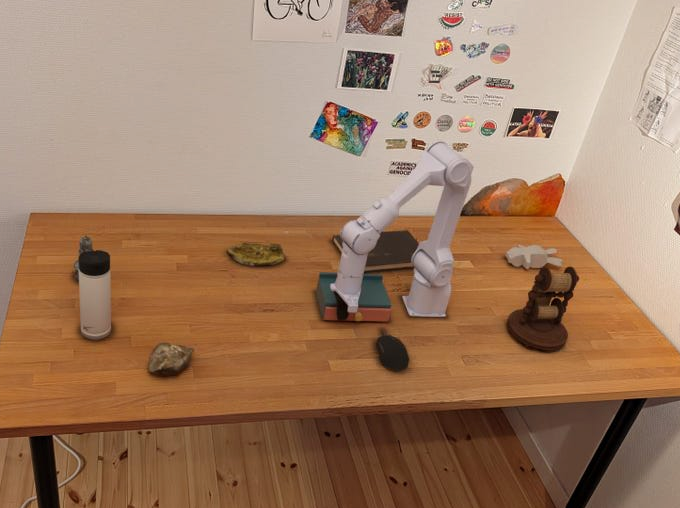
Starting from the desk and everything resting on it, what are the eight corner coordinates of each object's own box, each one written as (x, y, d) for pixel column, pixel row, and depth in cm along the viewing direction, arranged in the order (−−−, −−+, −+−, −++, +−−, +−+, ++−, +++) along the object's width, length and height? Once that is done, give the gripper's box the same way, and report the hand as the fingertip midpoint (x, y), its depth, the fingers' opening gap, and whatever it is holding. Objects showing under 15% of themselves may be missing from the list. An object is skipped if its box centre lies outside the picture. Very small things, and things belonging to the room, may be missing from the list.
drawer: (378, 294, 187) (381, 283, 185) (389, 324, 178) (392, 313, 176) (317, 292, 184) (319, 281, 182) (324, 323, 174) (327, 311, 173)
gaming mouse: (395, 331, 177) (398, 317, 175) (411, 373, 165) (415, 359, 163) (369, 330, 176) (372, 317, 174) (383, 373, 164) (387, 359, 162)
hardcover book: (430, 266, 203) (432, 259, 202) (353, 273, 195) (355, 266, 194) (405, 235, 215) (406, 228, 214) (331, 241, 207) (333, 233, 206)
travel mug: (85, 343, 157) (82, 265, 146) (77, 325, 162) (74, 248, 151) (114, 338, 160) (114, 261, 149) (106, 319, 165) (106, 244, 154)
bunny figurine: (504, 240, 213) (555, 240, 214) (501, 255, 216) (551, 255, 217) (513, 259, 205) (566, 258, 206) (510, 274, 208) (562, 273, 209)
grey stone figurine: (68, 279, 175) (66, 236, 168) (84, 267, 180) (82, 225, 173) (89, 287, 174) (88, 244, 167) (104, 275, 178) (104, 233, 172)
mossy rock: (226, 267, 190) (284, 270, 193) (227, 253, 187) (286, 257, 190) (226, 244, 197) (282, 248, 200) (227, 230, 194) (284, 234, 197)
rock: (160, 380, 148) (202, 370, 155) (156, 347, 148) (199, 338, 155) (141, 376, 154) (183, 366, 161) (138, 344, 153) (180, 336, 160)
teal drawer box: (377, 294, 189) (382, 274, 185) (387, 321, 180) (392, 301, 176) (315, 292, 185) (319, 271, 182) (322, 319, 176) (326, 299, 173)
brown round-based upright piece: (547, 316, 192) (573, 251, 181) (575, 354, 180) (605, 287, 169) (495, 317, 188) (519, 250, 177) (520, 355, 176) (547, 287, 165)
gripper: (328, 252, 173) (320, 299, 180) (339, 289, 161) (329, 337, 168) (358, 253, 174) (348, 299, 181) (370, 290, 162) (360, 338, 170)
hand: (341, 318), depth 175 cm, fingers closed
